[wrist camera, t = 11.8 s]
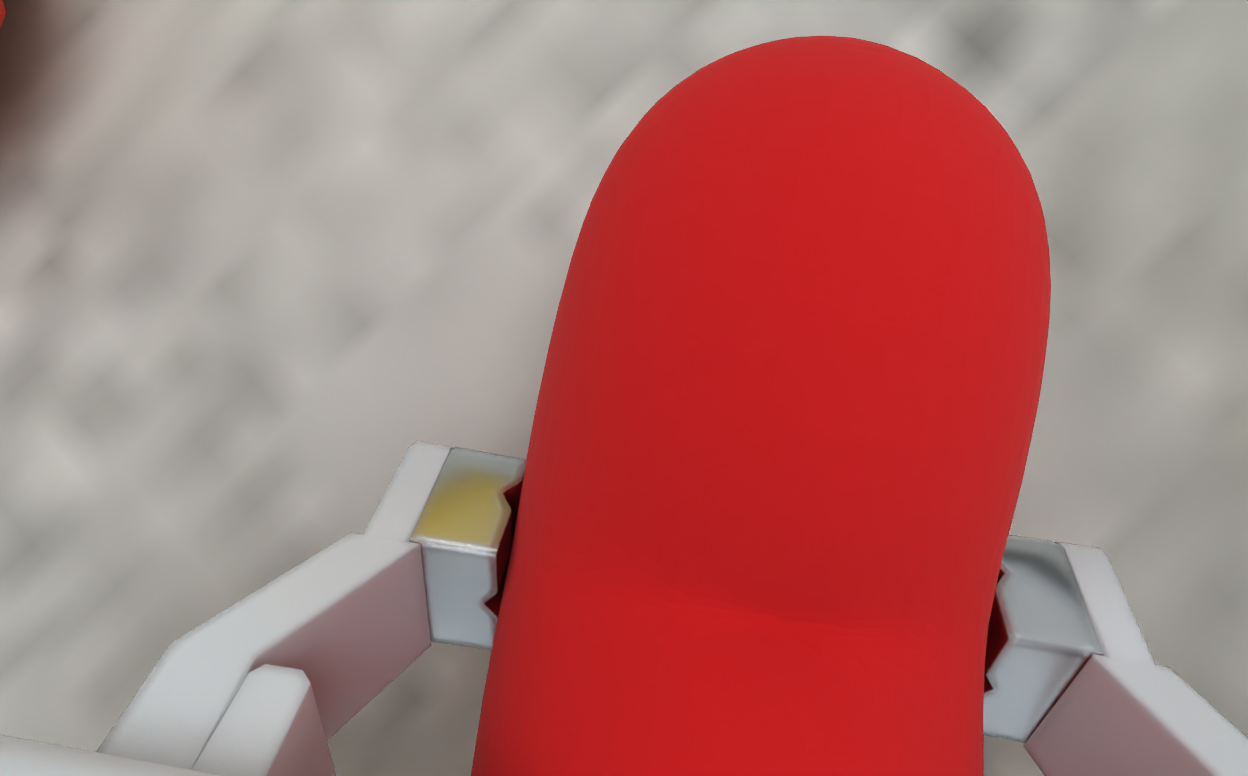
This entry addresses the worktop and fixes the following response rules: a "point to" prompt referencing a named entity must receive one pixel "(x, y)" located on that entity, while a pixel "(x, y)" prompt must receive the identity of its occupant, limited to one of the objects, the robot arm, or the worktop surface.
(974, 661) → the heart
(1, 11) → the tomato
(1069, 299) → the worktop surface
